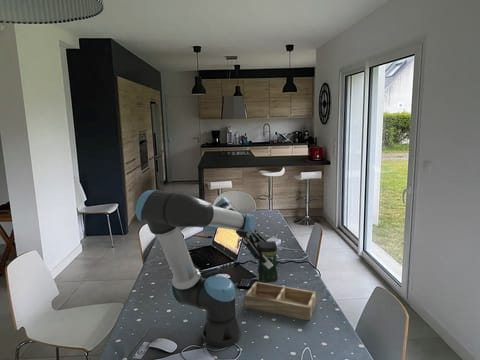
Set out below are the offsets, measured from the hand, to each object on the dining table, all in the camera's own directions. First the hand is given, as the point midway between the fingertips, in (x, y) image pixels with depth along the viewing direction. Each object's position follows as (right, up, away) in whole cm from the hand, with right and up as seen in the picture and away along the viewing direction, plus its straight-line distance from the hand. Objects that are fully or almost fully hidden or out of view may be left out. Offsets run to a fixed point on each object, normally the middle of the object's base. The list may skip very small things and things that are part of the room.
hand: (274, 263), depth 163 cm
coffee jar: (-3, -9, +3) cm, 9 cm away
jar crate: (+3, -20, +1) cm, 20 cm away
